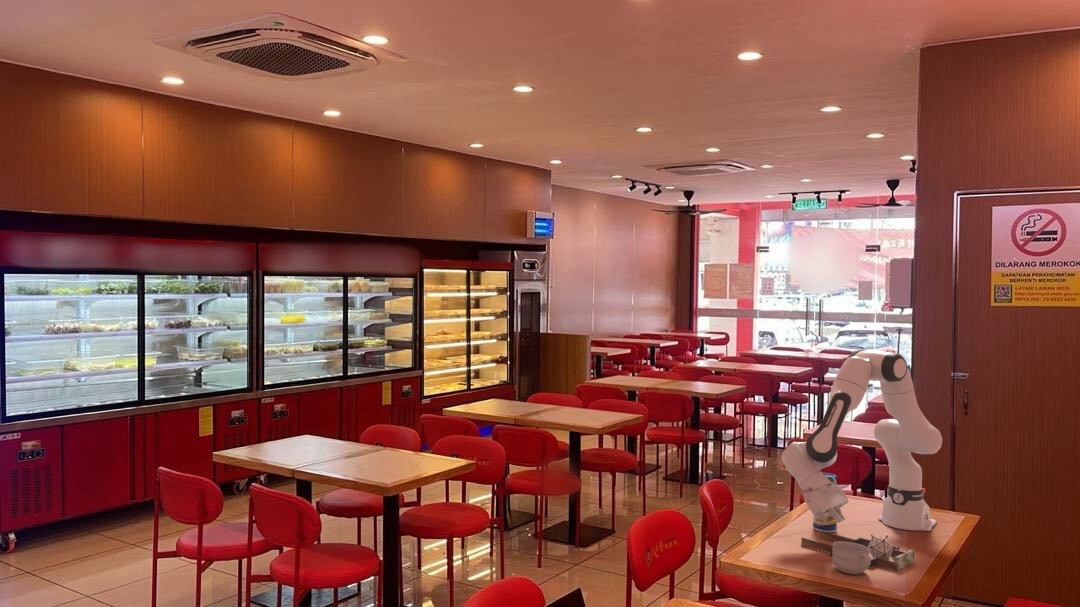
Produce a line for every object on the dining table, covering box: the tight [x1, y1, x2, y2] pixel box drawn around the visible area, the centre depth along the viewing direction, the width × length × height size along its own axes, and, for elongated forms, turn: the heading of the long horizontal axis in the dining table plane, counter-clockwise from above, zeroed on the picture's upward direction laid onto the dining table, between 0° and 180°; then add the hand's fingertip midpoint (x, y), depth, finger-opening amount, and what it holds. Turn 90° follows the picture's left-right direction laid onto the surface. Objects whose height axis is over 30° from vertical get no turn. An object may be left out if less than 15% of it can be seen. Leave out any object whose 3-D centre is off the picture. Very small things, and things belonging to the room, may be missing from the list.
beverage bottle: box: [812, 472, 838, 533], centre depth 291 cm, size 8×8×20 cm
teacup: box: [831, 541, 872, 575], centre depth 246 cm, size 14×11×8 cm
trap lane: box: [800, 531, 916, 572], centre depth 265 cm, size 21×32×4 cm, turn 43°
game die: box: [868, 534, 897, 560], centre depth 258 cm, size 9×8×10 cm
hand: (841, 521), depth 269 cm, fingers closed
